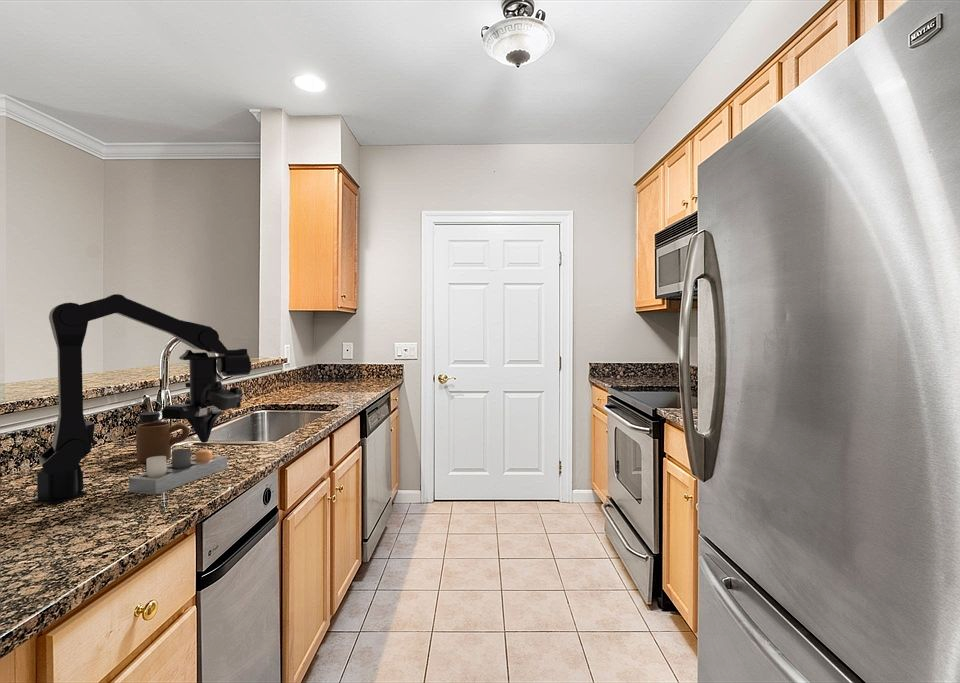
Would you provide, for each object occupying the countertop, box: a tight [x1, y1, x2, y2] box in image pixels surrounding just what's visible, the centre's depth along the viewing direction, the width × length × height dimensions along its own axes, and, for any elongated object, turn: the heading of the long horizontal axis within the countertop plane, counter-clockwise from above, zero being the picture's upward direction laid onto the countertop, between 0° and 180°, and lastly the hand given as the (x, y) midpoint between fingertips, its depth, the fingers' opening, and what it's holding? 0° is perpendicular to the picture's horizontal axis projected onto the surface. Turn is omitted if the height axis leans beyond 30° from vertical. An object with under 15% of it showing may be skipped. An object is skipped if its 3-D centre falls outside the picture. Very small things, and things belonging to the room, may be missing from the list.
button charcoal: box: [171, 448, 192, 470], centre depth 113 cm, size 4×4×4 cm
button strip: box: [128, 454, 228, 496], centre depth 113 cm, size 20×7×3 cm, turn 166°
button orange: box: [194, 449, 213, 462], centre depth 119 cm, size 4×4×4 cm
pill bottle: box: [136, 411, 163, 427], centre depth 138 cm, size 6×6×11 cm
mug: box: [135, 421, 190, 464], centre depth 131 cm, size 12×8×9 cm, turn 112°
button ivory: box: [146, 456, 168, 478], centre depth 107 cm, size 4×4×4 cm
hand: (204, 442), depth 119 cm, fingers closed
